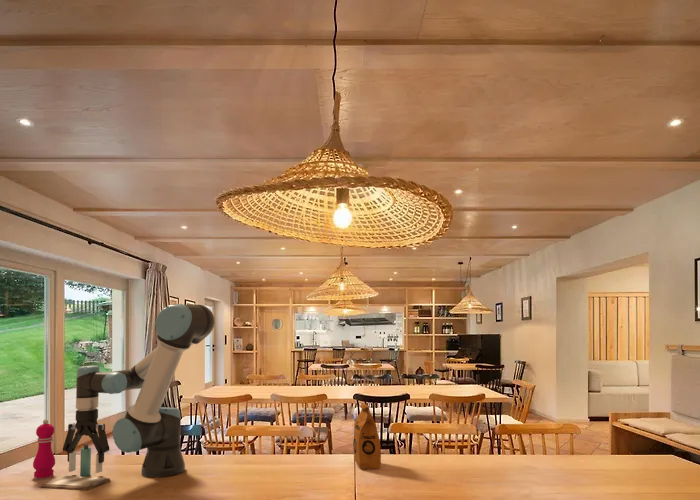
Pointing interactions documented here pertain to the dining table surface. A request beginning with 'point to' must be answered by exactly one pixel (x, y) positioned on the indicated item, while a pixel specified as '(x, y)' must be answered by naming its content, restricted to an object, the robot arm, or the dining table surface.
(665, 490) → the dining table surface
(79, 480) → the clipboard
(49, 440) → the pepper mill
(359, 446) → the coffee package
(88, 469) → the bottle
